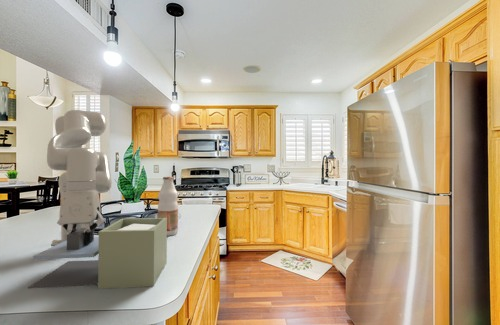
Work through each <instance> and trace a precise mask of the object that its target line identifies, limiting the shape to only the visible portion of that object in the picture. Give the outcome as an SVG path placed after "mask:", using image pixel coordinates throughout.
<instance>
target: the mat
mask: <svg viewBox="0 0 500 325" xmlns="http://www.w3.org/2000/svg"><path fill="white" fill-rule="evenodd" d="M77 286H78V287H81V286H82V287H83V286H85V287H87V286H98V259H97V260H96V259H95V260H94V259H92V260H68V261H67V262H65V263H63V264H62V265H59V266H58V267H57V268H55V269H54V270H52V271H51V272H49V273H47V274H46V275H45V276H43V277H41V278H40V279H38V280H37V281H35V282H34V283H32V284H31V285H29V286H28V287H27V289H34V288H35V289H37V288H38V289H40V288H61V287H63V288H64V287H77Z"/></svg>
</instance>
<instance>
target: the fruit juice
mask: <svg viewBox="0 0 500 325" xmlns="http://www.w3.org/2000/svg"><path fill="white" fill-rule="evenodd" d="M174 178H175V177H174V176H163V177H162V180H163V182H162V186H161V188H160V190H159V191H158V195H157V197H158V201H159V202H158V205H157V218H167V237H169V236H175V235H177V234H178V232H179V202H178V196H179V193H178V191H177V189H176V186H175V183H174Z"/></svg>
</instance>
